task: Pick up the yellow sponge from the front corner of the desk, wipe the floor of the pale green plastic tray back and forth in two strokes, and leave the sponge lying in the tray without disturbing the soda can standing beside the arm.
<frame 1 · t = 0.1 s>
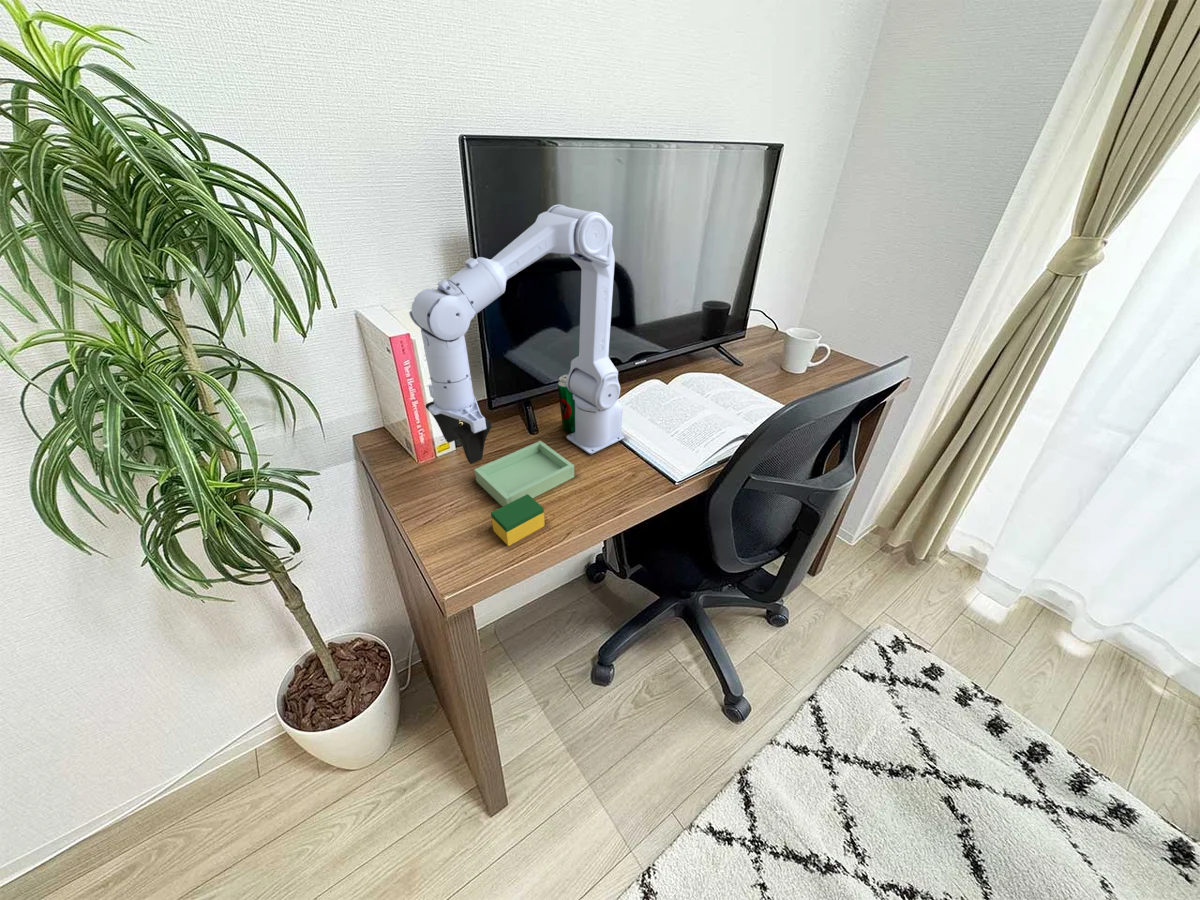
hand: (463, 450, 77), 10 cm above the table, tool pointing down, fingers open, 7 cm apart
soda can: (574, 430, 102), on the table, touching arm
sponge: (519, 528, 77), on the table
tray: (525, 479, 87), on the table
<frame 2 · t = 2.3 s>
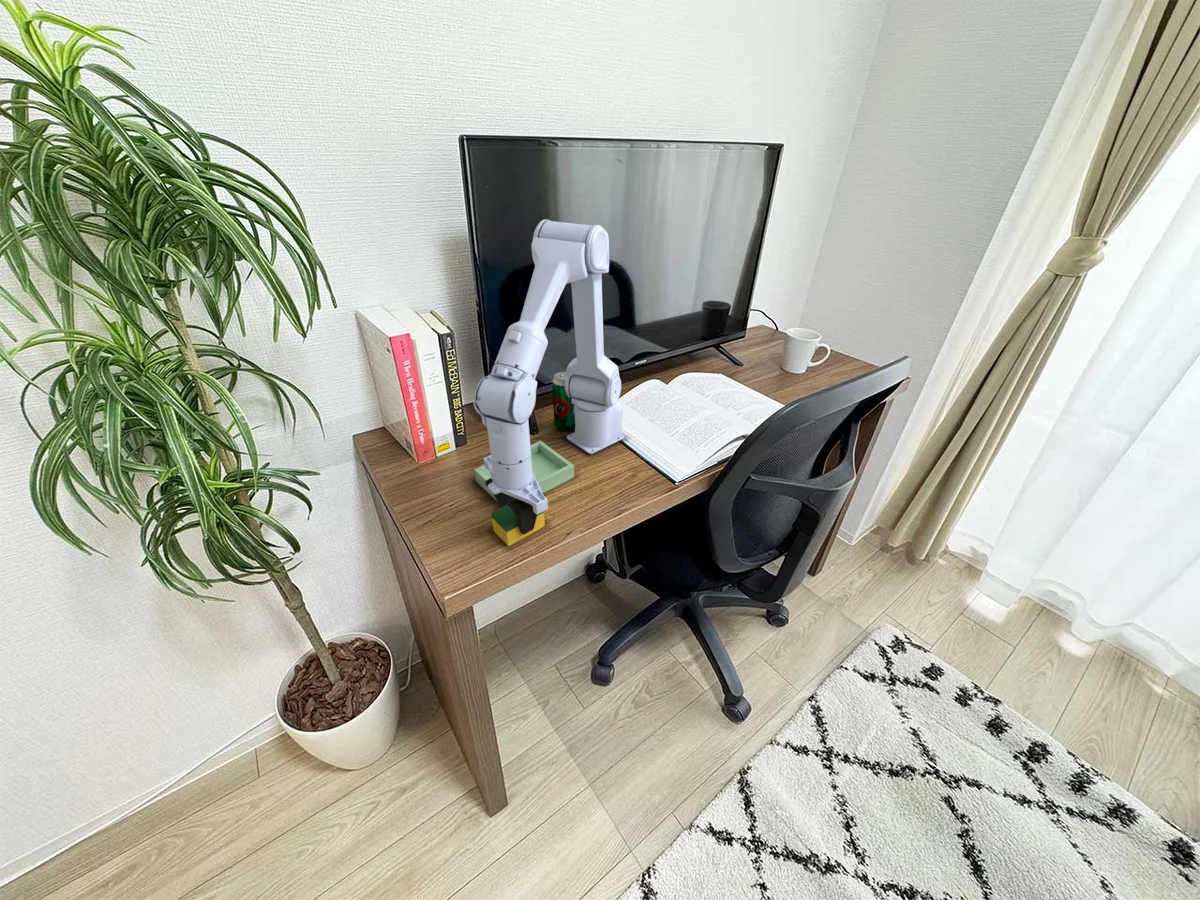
hand: (518, 522, 76), 1 cm above the table, tool pointing down, fingers closed on sponge, 4 cm apart
soda can: (565, 426, 103), on the table
sponge: (519, 528, 77), on the table, touching gripper
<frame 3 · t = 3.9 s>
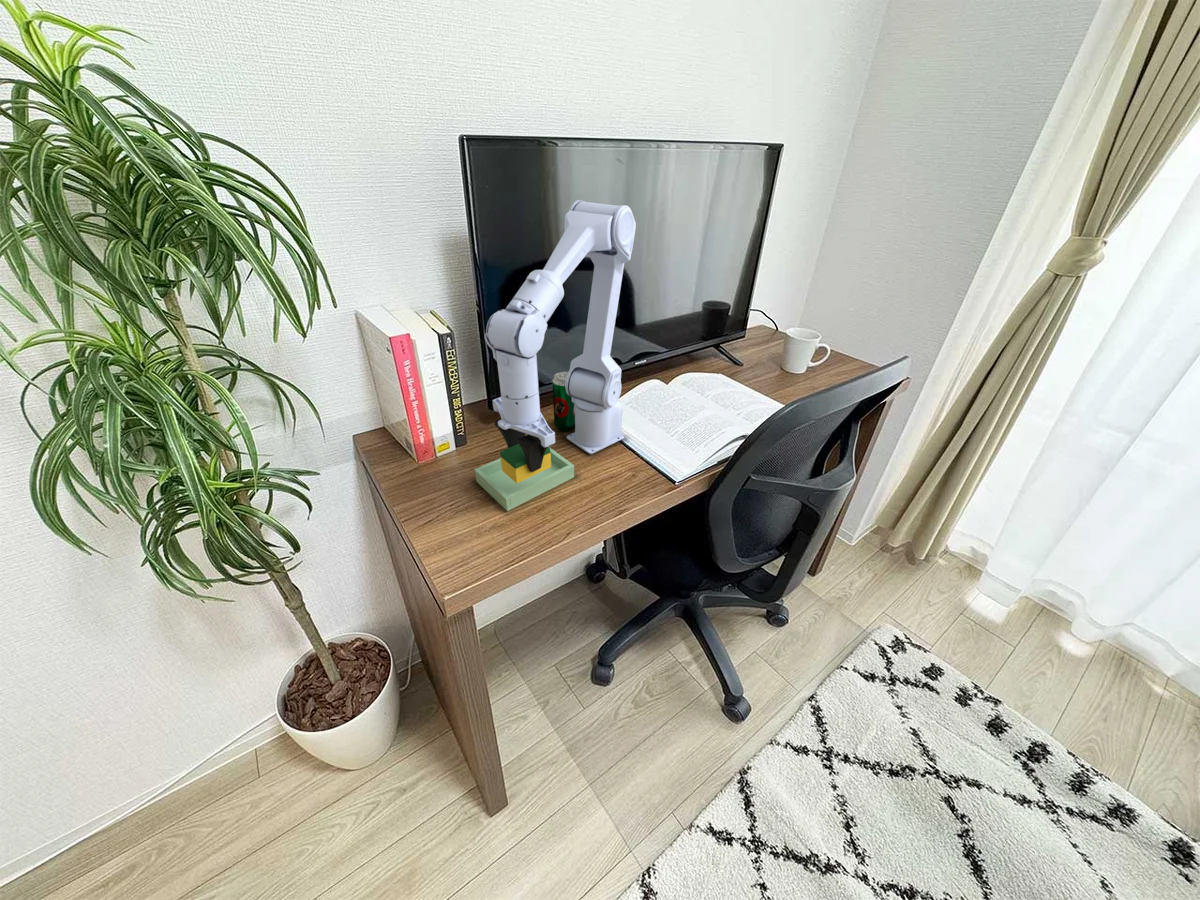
hand: (526, 462, 80), 7 cm above the table, tool pointing down, fingers closed on sponge, 4 cm apart
sponge: (526, 468, 80), point 6 cm above the table, touching gripper
everything else where it was.
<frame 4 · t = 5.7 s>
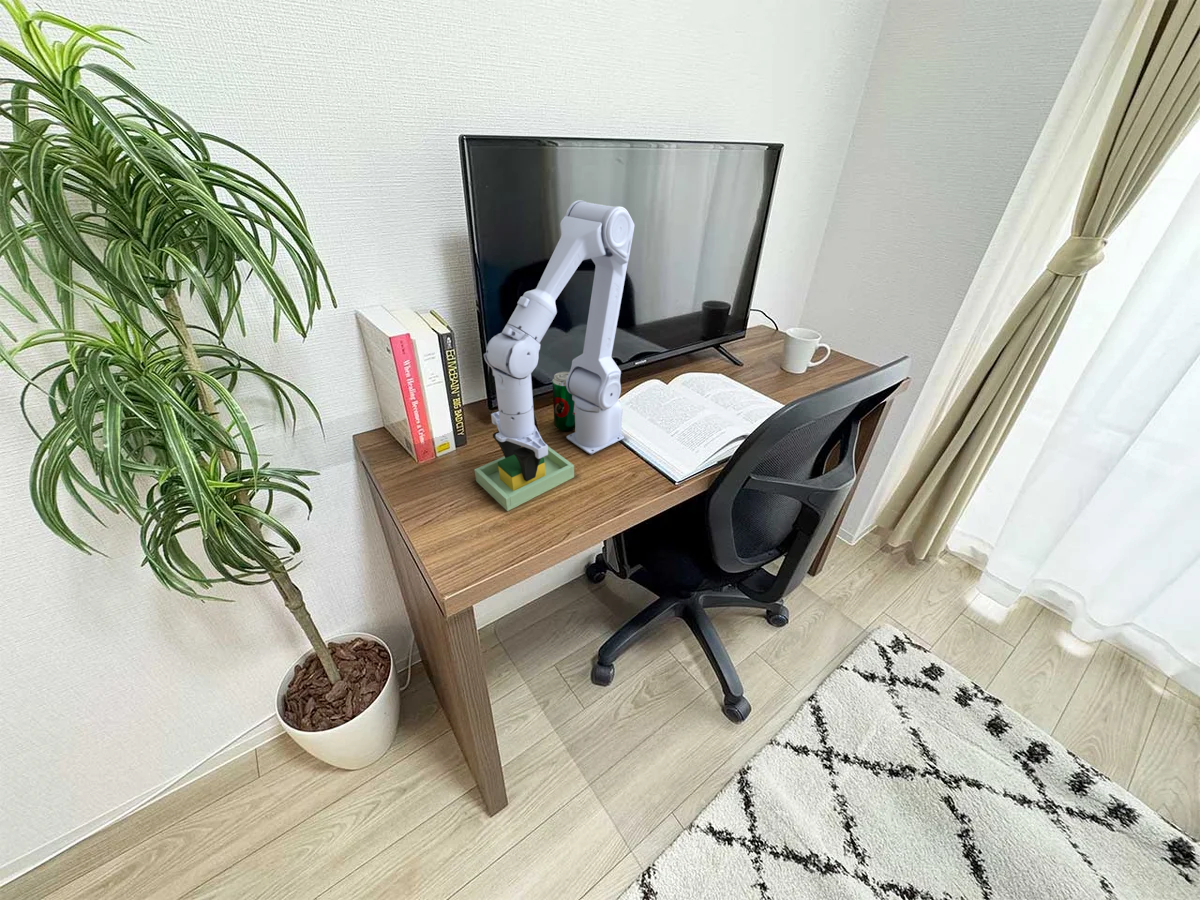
hand: (521, 471, 86), 2 cm above the table, tool pointing down, fingers closed on sponge, 4 cm apart
sponge: (522, 477, 87), point 1 cm above the table, touching gripper
everything else where it was.
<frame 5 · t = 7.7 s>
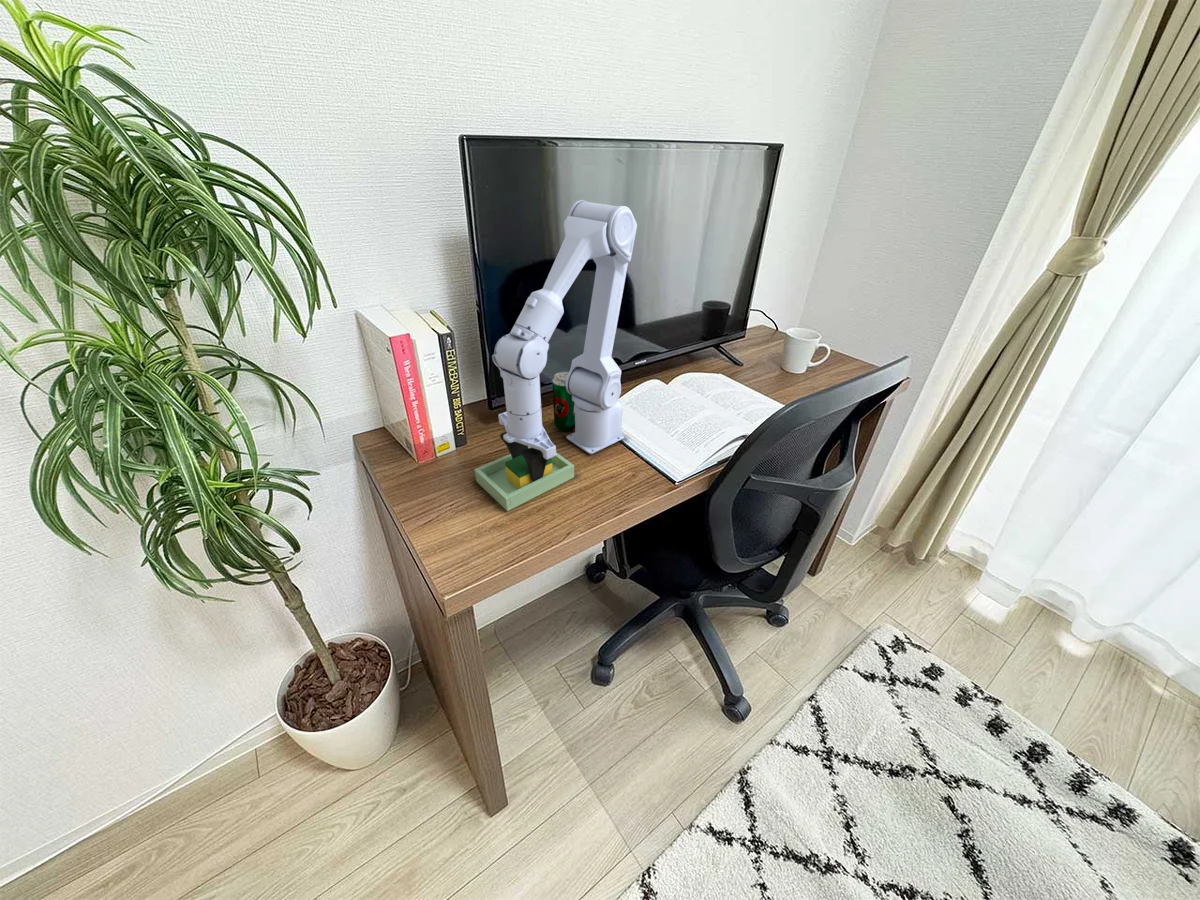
hand: (529, 472, 86), 2 cm above the table, tool pointing down, fingers closed on sponge, 4 cm apart
sponge: (530, 477, 86), point 1 cm above the table, touching gripper
everything else where it was.
when the fingers open (2 cm above the table, at t = 9.4 s): sponge stays where it is, resting on tray.
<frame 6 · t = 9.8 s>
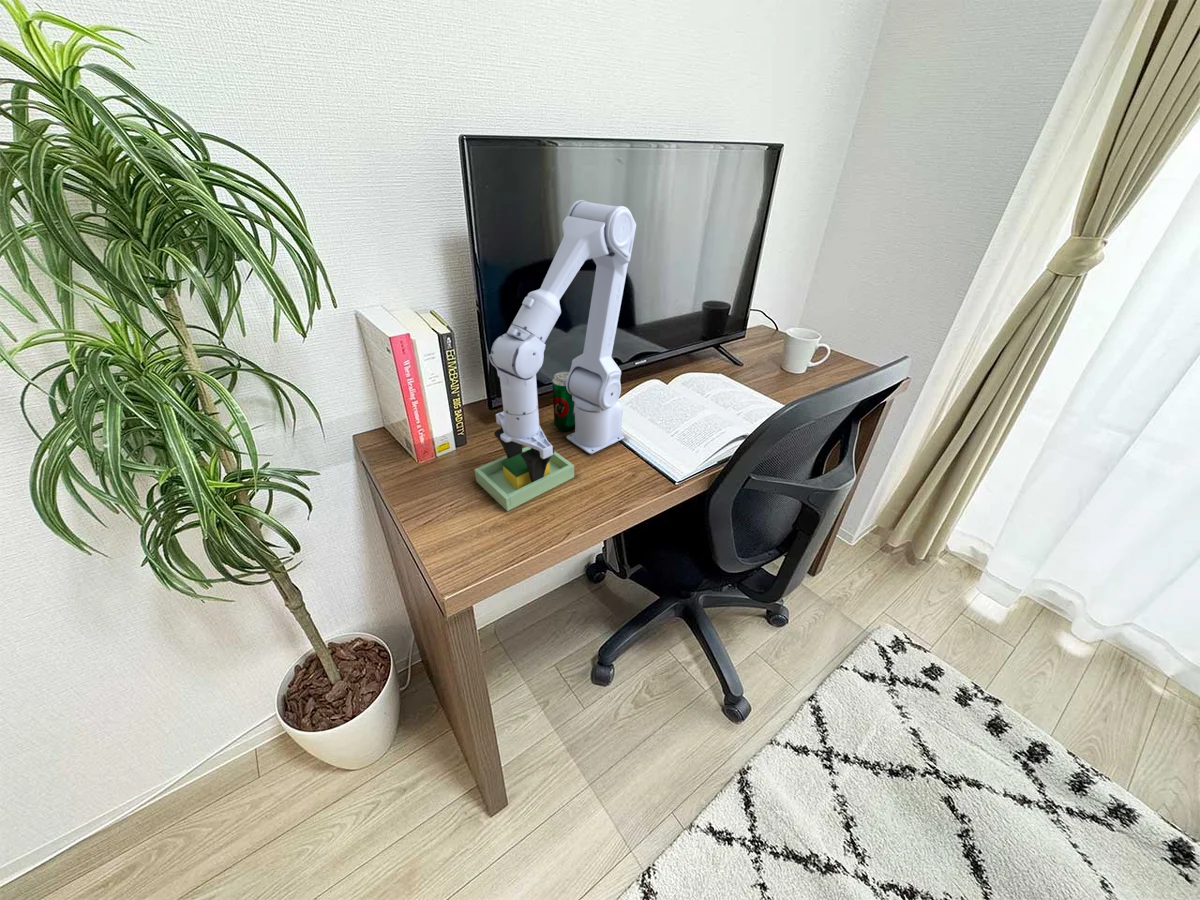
hand: (526, 471, 86), 2 cm above the table, tool pointing down, fingers open, 6 cm apart
sponge: (527, 477, 87), point 1 cm above the table, touching tray
everything else where it was.
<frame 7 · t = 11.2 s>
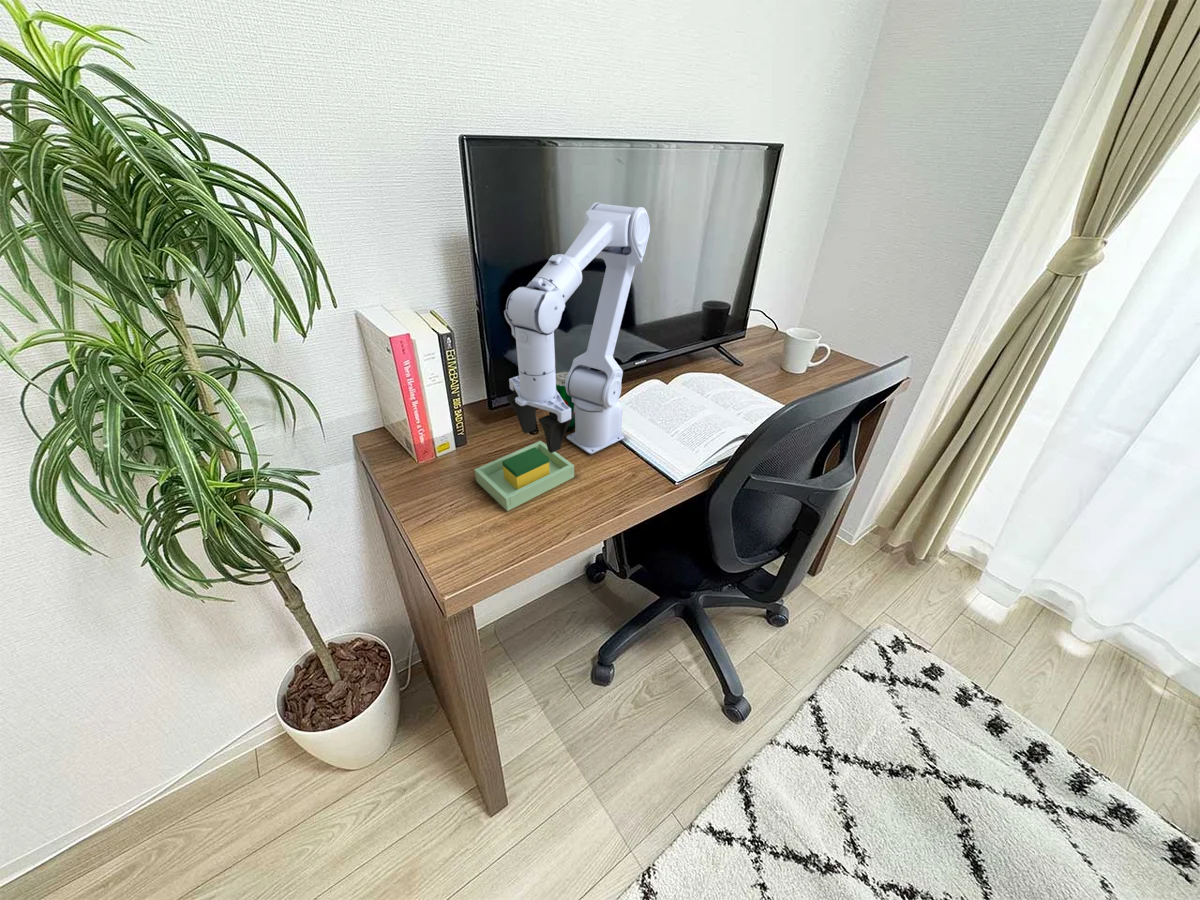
hand: (541, 440, 81), 9 cm above the table, tool pointing down, fingers open, 7 cm apart
nothing on the table moved.
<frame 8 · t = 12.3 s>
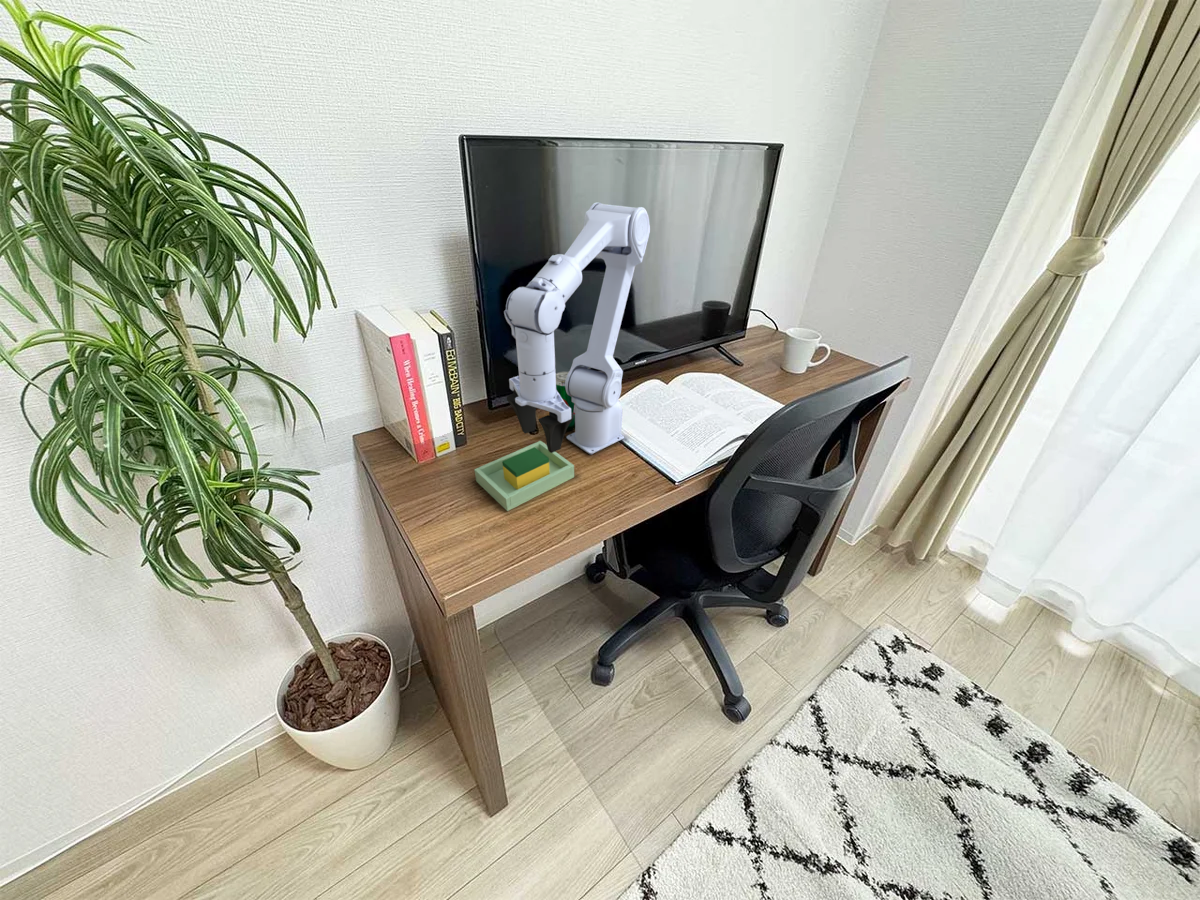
hand: (541, 440, 81), 9 cm above the table, tool pointing down, fingers open, 7 cm apart
nothing on the table moved.
at the end: sponge inside the target area in the tray (0.5 cm from its centre), point 0.8 cm above the tray's base; the gripper is holding nothing; soda can moved 3.0 cm from its start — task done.
